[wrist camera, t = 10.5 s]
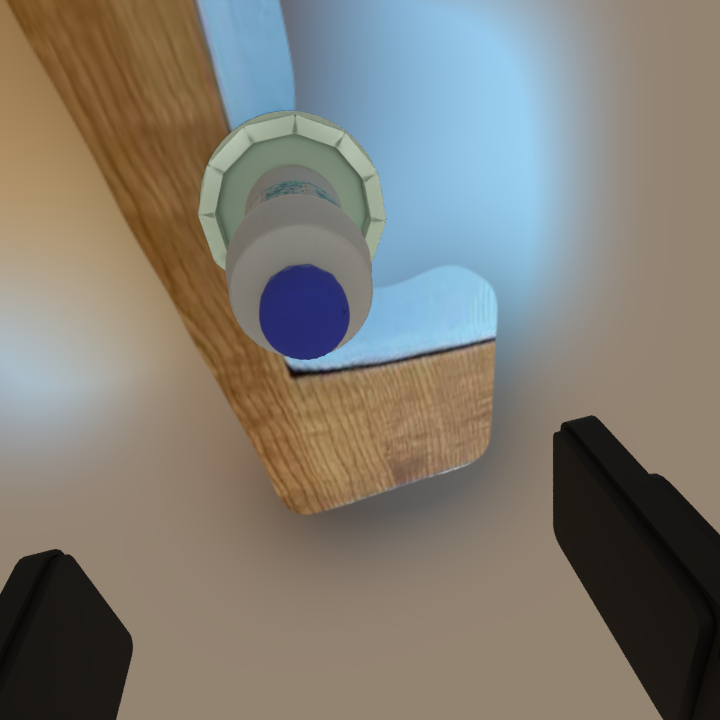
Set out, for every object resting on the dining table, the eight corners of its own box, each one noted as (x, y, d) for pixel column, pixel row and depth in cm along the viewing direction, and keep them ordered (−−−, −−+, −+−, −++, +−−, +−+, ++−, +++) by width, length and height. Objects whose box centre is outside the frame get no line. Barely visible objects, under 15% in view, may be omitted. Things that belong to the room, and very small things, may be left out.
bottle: (247, 149, 33) (211, 223, 16) (348, 165, 35) (417, 250, 17) (240, 249, 36) (204, 404, 19) (334, 261, 38) (380, 415, 20)
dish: (172, 135, 33) (165, 138, 31) (363, 90, 33) (369, 91, 31) (234, 310, 39) (232, 323, 37) (394, 272, 39) (401, 282, 37)
